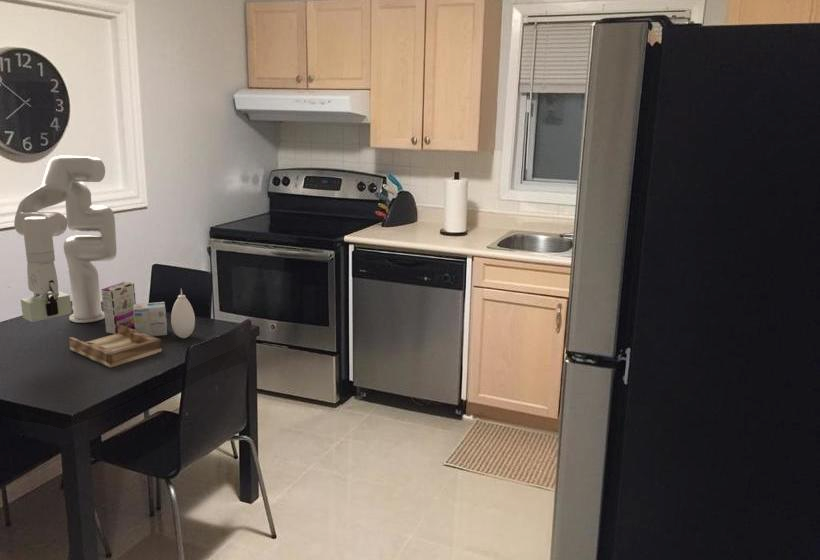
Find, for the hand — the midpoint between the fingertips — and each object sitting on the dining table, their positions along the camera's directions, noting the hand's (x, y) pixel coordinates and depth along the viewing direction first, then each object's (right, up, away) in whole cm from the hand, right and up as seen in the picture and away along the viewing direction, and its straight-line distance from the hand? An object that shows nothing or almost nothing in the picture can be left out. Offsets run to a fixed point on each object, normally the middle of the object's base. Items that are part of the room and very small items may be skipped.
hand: (47, 312), depth 205 cm
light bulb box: (+21, -9, +28) cm, 37 cm away
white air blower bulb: (+34, -10, +26) cm, 44 cm away
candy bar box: (+9, -8, +32) cm, 34 cm away
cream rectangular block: (0, -1, 0) cm, 1 cm away
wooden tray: (+16, -13, +12) cm, 24 cm away
